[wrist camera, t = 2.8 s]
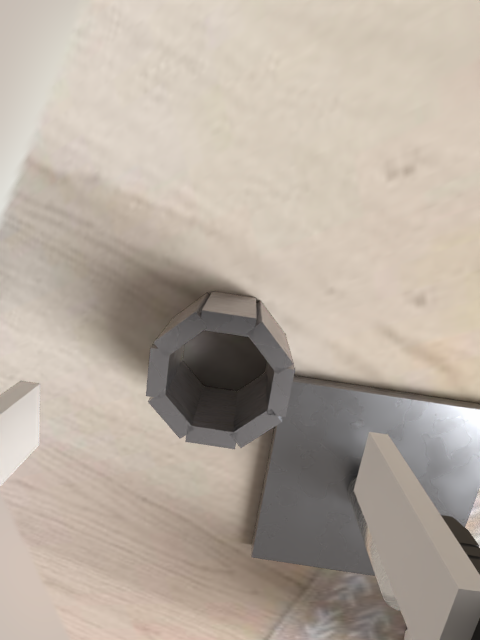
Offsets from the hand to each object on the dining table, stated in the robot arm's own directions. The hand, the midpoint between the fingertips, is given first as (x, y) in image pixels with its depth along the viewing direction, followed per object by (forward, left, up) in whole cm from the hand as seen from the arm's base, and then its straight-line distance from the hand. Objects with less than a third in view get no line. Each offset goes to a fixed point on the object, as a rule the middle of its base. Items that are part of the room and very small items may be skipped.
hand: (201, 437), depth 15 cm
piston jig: (+8, +11, -10) cm, 17 cm away
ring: (0, 0, -10) cm, 10 cm away
